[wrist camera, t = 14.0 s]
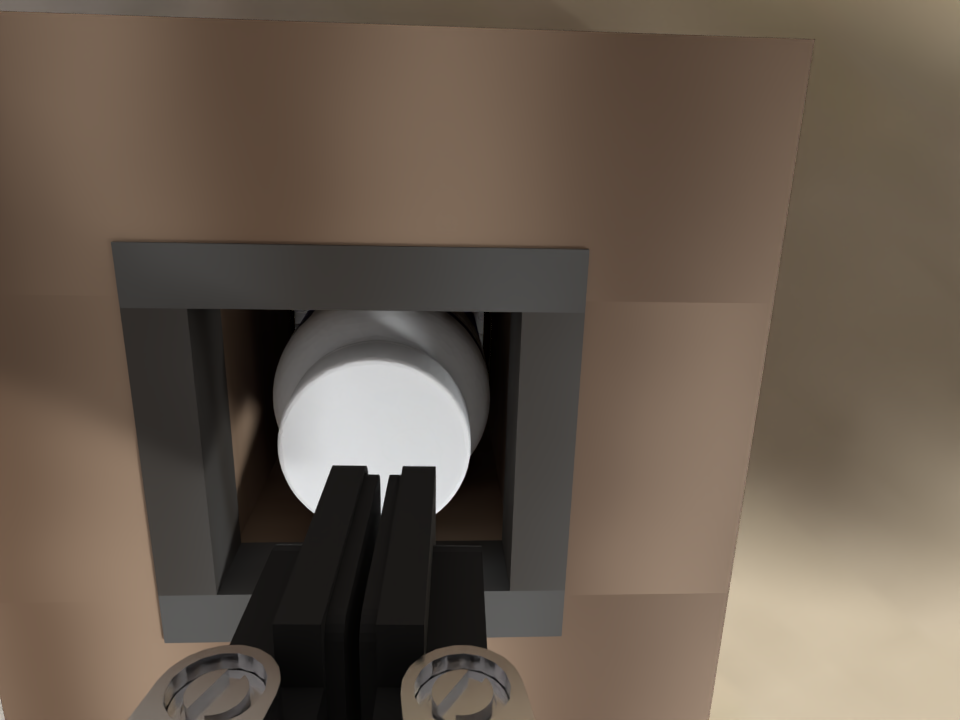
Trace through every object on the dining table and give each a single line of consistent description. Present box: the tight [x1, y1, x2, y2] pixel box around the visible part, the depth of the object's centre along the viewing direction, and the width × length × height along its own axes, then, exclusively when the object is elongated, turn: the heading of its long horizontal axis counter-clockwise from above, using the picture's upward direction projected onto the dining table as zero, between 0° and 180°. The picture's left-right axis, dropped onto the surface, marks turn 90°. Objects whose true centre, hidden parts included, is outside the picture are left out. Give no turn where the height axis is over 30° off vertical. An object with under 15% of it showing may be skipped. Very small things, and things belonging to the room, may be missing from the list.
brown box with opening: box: [0, 11, 815, 720], centre depth 19 cm, size 16×16×10 cm
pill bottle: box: [273, 310, 490, 513], centre depth 19 cm, size 5×5×9 cm
